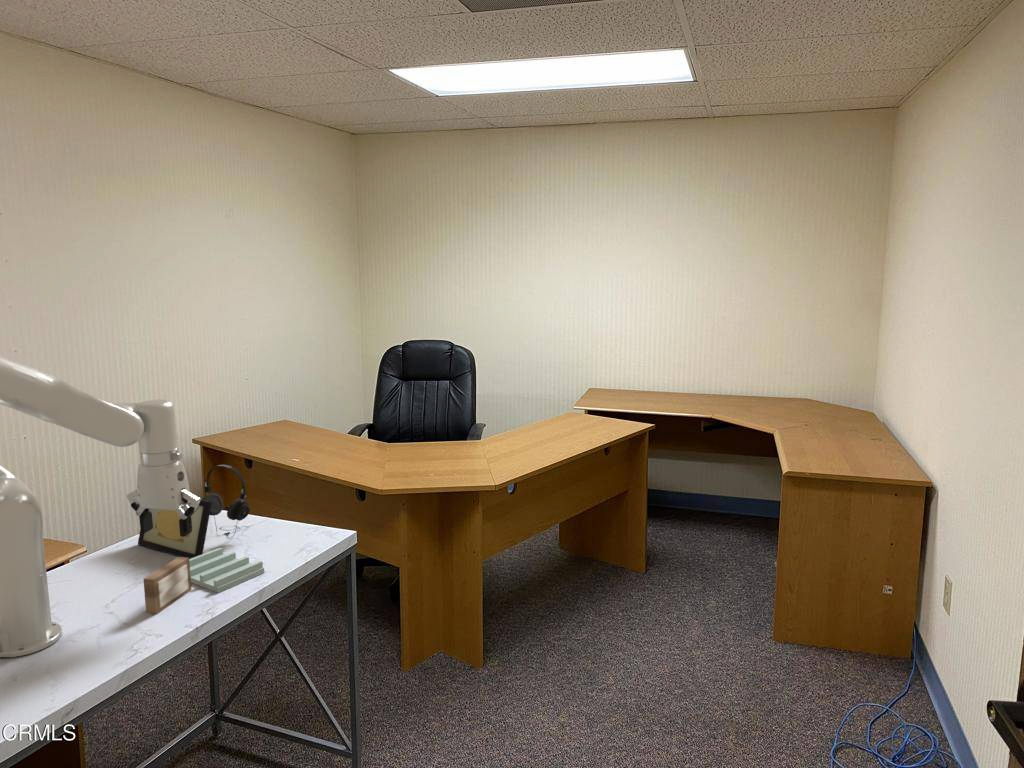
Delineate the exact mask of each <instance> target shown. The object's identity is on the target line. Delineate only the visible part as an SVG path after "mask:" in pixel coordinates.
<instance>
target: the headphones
mask: <svg viewBox="0 0 1024 768" xmlns="http://www.w3.org/2000/svg"><path fill="white" fill-rule="evenodd" d="M219 467H220V468H225V469H227V470H230V471H231V472H233V473H234V474H235V475H236V476H237V477H238V479H239V480H240V483H241V492H240V496H239V497H240V498H237V499H235V500H233V501H232V503H230V505H229V506H228V507H227V511H226V516H227V518H228V520H232V521H237V522H236V525H235V529H236V528H237V529H238V527H237V526H238V522H241V521H242V520H244V519H246V518H247V517H248V515H249V514H250V511H251V507H250V505H249V504H248V503H247V501H246V499H248V492H247V489H246V488H247V487H246V484H245V483H246V482H245V480H244V478H243V476H242V474H241V472H240V471H239V470H238V469H237V468H236V467H234V466H232V465H230V464H218V465H216V466H213V467H211V468H210V469H209V470H208V473H207V477H206V478H203V479H204V484H205V485H204V492H205V493H206V495H205V496H204V497H203V498H202V499H203V500H207V501H212V504H211V510H210V515H209V516H213V519H216V518H215V516H218V515H219V514H220V513H221V512H222V511H223V508H224V501H223V498H222V497H221V495H219V494H218V493H216V492H212V486H211V485H209V484H210V477H211V473H212V472H213V471H214V469H216V468H219ZM210 492H211V493H210ZM214 524H215V530H216V531H218V527H217V523H216V521H214ZM230 532H231V531H229V532H224V534H228V535H230V534H231V533H230ZM236 532H237V530H235V532H233V535H231V538H232V537H234V536H235V534H236ZM229 533H230V534H229ZM224 534H222V536H225V535H224ZM216 536H217V537H219V535H218V534H216Z"/></svg>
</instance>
